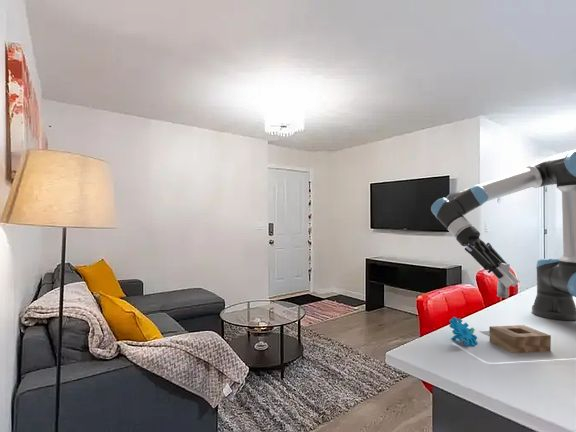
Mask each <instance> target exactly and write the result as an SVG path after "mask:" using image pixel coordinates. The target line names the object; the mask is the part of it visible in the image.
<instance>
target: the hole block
mask: <svg viewBox="0 0 576 432" xmlns="http://www.w3.org/2000/svg"><path fill="white" fill-rule="evenodd" d="M489 331H490V337H489V342H490V343H492V344H494V345H496V346H498V347H500V348H502V349H504V350H506V351H508V352H510V353H513V354H525V353H542V352H546V353H547V352H551V351H552V347H551V346H552V344H551V341H552V340H551V339H552V337H551V336H552V335H550V334H548V333H546V332H543V331H540V330H537V329H534V328H532V327H529V326H527V325H525V324H517V325H516V324H515V325H495V326H490V325H489Z"/></svg>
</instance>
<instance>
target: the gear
mask: <svg viewBox="0 0 576 432" xmlns="http://www.w3.org/2000/svg"><path fill="white" fill-rule="evenodd" d="M449 323H450V324H449V328H451V329H453V330H452V334H453V336H452V337H451V338H450V339H451V340H452V341H456V340H457V339H458V341H459V342H463V340H464V342H463V344H464V345H465V346H466V347H468V346H470V347H476V345H477V344H478V341H477V340H478V336H477V335H476V334H474V333H475V331H476V329H475V328H474V327H471V328H468V327H469V324H468V323H467V322H464V323H463V319H461V318H457V317H455V316H453V317H452V318H451V319H449Z"/></svg>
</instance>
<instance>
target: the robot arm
mask: <svg viewBox="0 0 576 432" xmlns="http://www.w3.org/2000/svg"><path fill="white" fill-rule="evenodd" d="M552 185H556V189H558V190H560V192H561V210H562V211H561V213H562V245H563V247H562V249H563V254H562V256H561V257H560V258H539V259H538V260H537V262H536V267H535V268H536V296H535V298H534V303H533V305H531V313H532V314H534V315H536V316H539V317H542V318H547V319H553V320H561V321H576V303H575V301H574V297H575V298H576V149H571V150H569V151H565V152H563V153H558V154H555V155H552V156H550V157H548V158H545V159H543V160H541V161H539V162H535V163H533V164H530V165H528V166H527V167H526V168H525V169H523V170H520V171H518V172H517V171H516V172H515V173H511V174H508V175H505V176H502V177H499V178H496V179H495V178H494V179H493V180H490V181H487V182H484V183H480V184H475V185H473V186H471V187H468V188H465V189H462V190H459V191H456V192H452V193H449V194H448V195H447V196H446V197H441V198H438V199H437V200H435V201H434V202H433V203H432V205H431V206H430V211H431V213H432V215H434V217H435V218H436V220H438V221H439V222H440V223H441V224H442V226H444V227H445V229H446V230H447V231H448V232H449V233H450V235H451V236H453V238H455V239H456V241H457V242H458V243H459V244H460V246H462V247H465V248H464V251H465V252H467V253H468V254H469V255H470V256H471V257H472V258H473V259H474V260H475V261H476V262H477V263H478V264H479V265H480V266H481V267H482V268H483V269H484V270H485V271H487V273H488V274H491V273H492V274H493V275H494V276H495V277H496V278H497V280H498V279H499V280H500V281H501V282H502V283H503V284H504V286H505V287H506V288H508V287H509V288H510V287H516V285H517V284H519V283H520V280H519V279H518V277H517V276H516V275H514V273H512V272H511V270H509V277H508V276H507V275H506V274H505V272H504V271H503V270H502V269H501V268H500V267H498V263H506V264H508V263H507V261H505V260H504V259H503V257H502V256H501V255H500V254H499V253H498V252H497V251H496V250H495V249H494V247H493V246H492V245H491V243H490V242H487V243H486V242H484V241H483V240H482V239H481V238H480V236H481V233H480V232H479V230H478V229H477V228H476V227H475V226H473V224H472V223H471V222H470V221H469V220H468V219H467V218H466V214H468V213H470V212H472V211H474V210H476V209H477V208H478V207H481V206H482V205H484V204H485V203H487V202H490V201H492V200H493V201H494V200H496V199H499V198H502V197H504V196H509V195H511V194H514V193H518V192H521V191H524V190H527V189H531V188H534V189H539V188H542V187H545V186H546V187H547V186H552Z"/></svg>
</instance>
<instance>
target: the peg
mask: <svg viewBox="0 0 576 432" xmlns="http://www.w3.org/2000/svg"><path fill="white" fill-rule="evenodd" d="M506 263H507V262H506ZM506 263H498V267H500V268H501V269H502V270H503V271H504V272H505V274H506V275H507V276H508V277H509V271H510V266H511V265H510V263H507V264H506ZM509 288H510V286H509V287H508V288H506V287H505V286H504V284H503V283H502V282H501V281H500V280H499V279H498V278H497V287H496V289H497V290H496V293H497V294H496V296H497V297H498V298H503V299H507V298H509V290H510V289H509Z"/></svg>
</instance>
